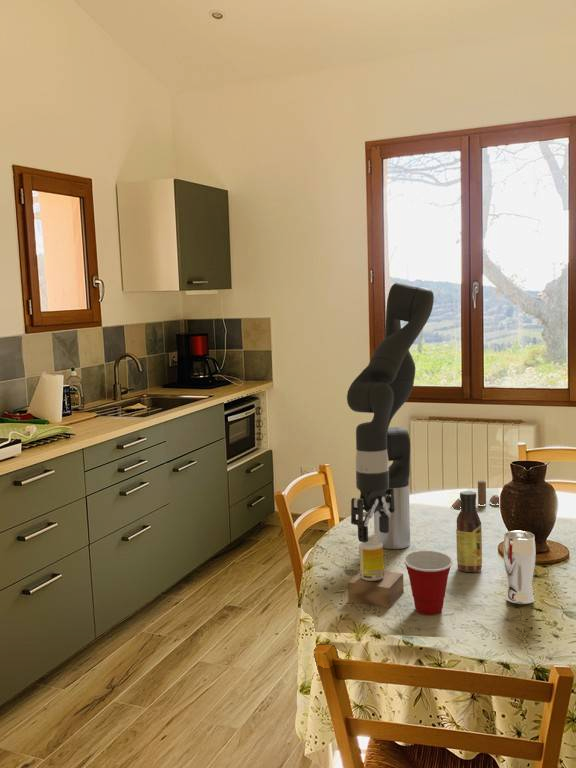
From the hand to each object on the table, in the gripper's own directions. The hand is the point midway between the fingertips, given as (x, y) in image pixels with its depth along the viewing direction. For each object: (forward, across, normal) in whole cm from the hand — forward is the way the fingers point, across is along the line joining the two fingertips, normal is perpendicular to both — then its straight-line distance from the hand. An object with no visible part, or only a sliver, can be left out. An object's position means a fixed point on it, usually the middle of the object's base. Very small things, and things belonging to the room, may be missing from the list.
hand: (374, 536), depth 174 cm
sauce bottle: (+15, +29, -9) cm, 34 cm away
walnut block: (+15, 0, 0) cm, 15 cm away
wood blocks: (+15, +74, +17) cm, 77 cm away
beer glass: (+14, +18, -28) cm, 36 cm away
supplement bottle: (+10, -1, 0) cm, 10 cm away
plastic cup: (+14, 0, -14) cm, 20 cm away
